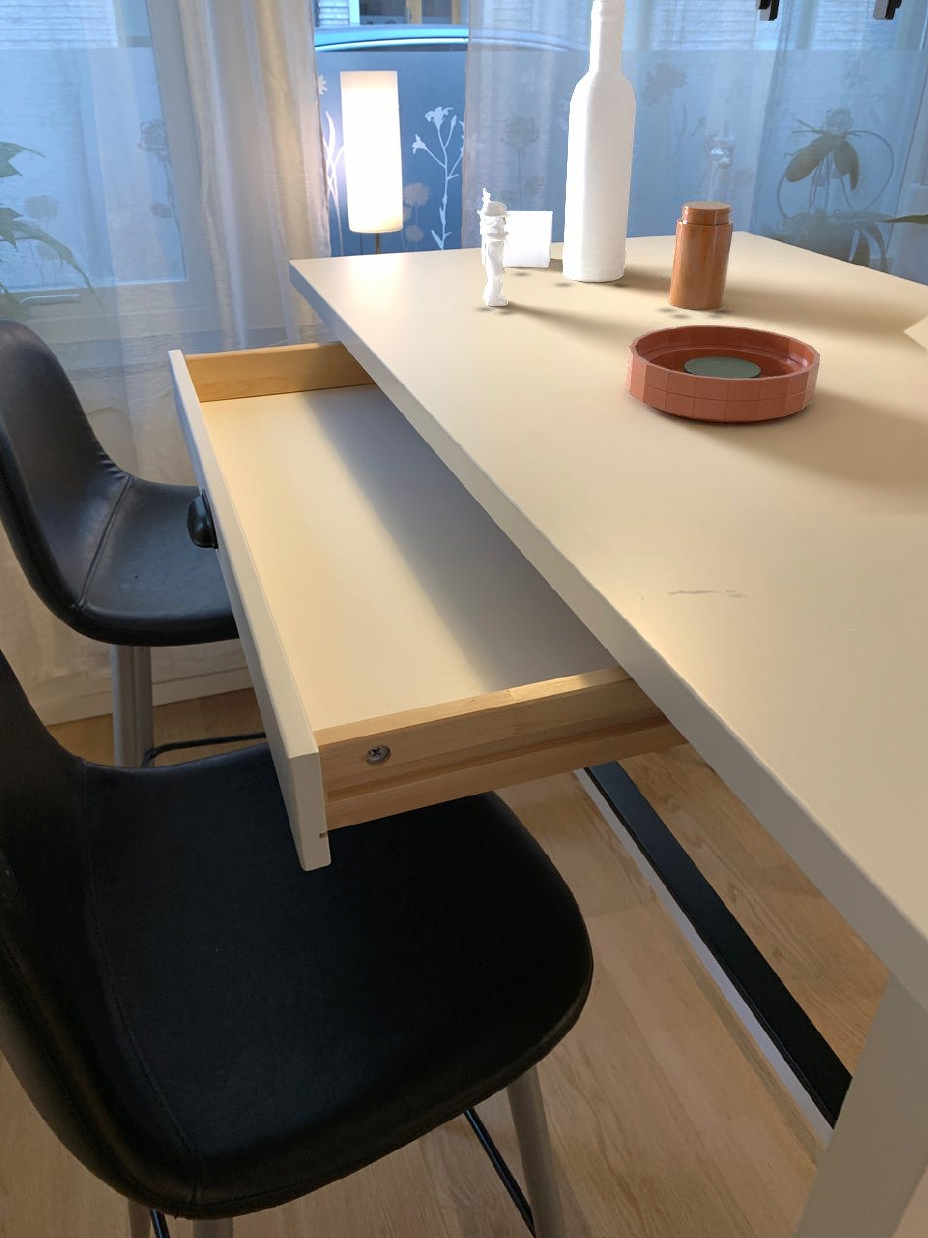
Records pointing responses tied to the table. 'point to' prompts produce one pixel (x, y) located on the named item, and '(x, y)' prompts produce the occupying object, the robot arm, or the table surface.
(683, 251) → the jar
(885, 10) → the robot arm
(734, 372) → the lid
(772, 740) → the table surface
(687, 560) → the table surface
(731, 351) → the bowl
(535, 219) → the white cube
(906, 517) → the table surface
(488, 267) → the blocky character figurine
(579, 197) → the bottle
